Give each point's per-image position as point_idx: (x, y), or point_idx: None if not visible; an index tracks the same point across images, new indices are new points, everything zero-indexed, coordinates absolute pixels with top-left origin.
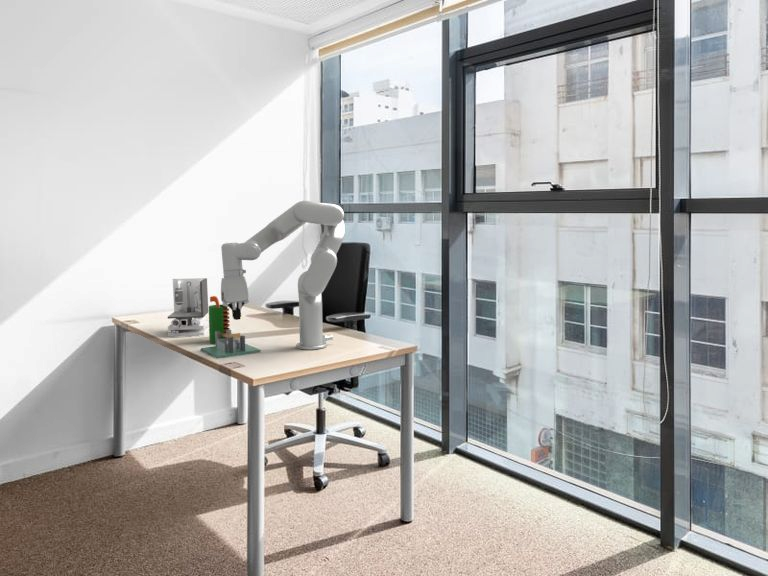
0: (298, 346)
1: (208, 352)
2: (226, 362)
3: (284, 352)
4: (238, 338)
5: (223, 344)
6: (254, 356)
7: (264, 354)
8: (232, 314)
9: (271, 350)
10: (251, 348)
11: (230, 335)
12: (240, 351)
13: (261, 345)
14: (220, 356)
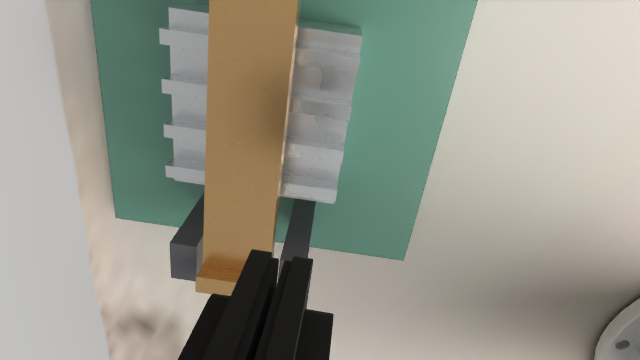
0: (606, 344)
1: (101, 63)
2: (137, 304)
3: (480, 338)
4: (324, 154)
5: (175, 158)
6: (310, 302)
7: (376, 304)
8: (197, 325)
9: (475, 259)
10: (384, 197)
11: (210, 214)
12: (280, 218)
13: (565, 84)
14: (137, 217)
